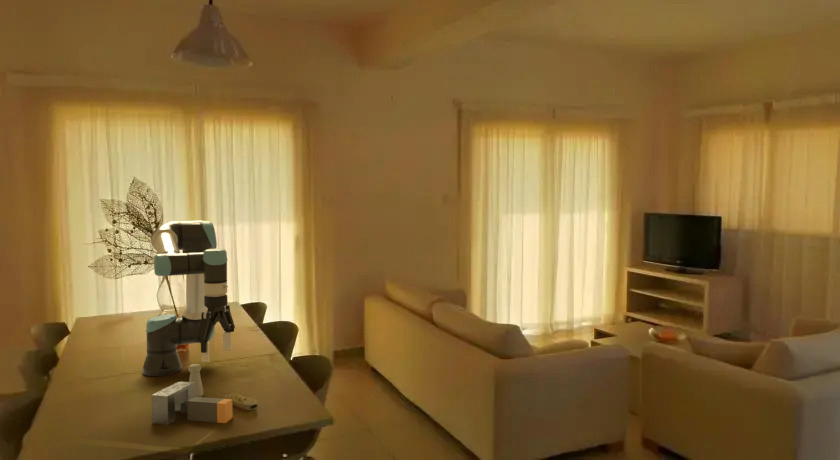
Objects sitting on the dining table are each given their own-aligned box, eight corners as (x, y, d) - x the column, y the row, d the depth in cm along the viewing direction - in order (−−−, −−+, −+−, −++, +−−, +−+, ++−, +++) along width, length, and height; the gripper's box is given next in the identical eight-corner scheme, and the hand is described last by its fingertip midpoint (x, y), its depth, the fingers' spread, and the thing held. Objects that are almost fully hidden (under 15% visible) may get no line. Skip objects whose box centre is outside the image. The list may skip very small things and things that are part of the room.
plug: (179, 419, 202) (179, 400, 202) (187, 414, 206) (187, 396, 206) (225, 423, 198) (225, 403, 198) (232, 418, 203) (232, 399, 203)
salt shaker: (189, 396, 225) (189, 362, 224) (205, 396, 225) (204, 362, 225) (184, 402, 219) (184, 366, 218) (201, 401, 220) (200, 366, 219)
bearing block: (152, 423, 198) (151, 394, 198) (179, 407, 213) (179, 381, 213) (168, 424, 197) (167, 396, 197) (194, 409, 212) (194, 382, 211)
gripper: (205, 302, 191) (206, 367, 193) (244, 288, 215) (244, 347, 217) (184, 300, 193) (185, 365, 194) (225, 287, 217) (226, 345, 219)
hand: (216, 356), depth 206 cm, fingers open, 13 cm apart
